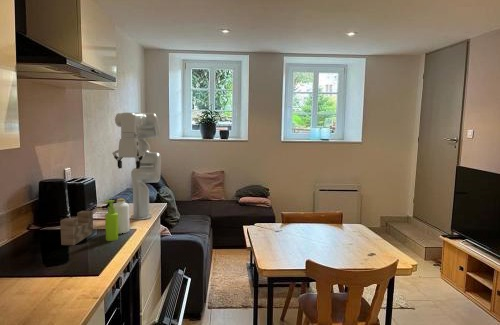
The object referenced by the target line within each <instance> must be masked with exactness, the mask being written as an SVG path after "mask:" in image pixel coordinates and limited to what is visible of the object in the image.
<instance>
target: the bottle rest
mask: <svg viewBox="0 0 500 325" xmlns="http://www.w3.org/2000/svg"><path fill="white" fill-rule="evenodd" d="M93 212H94V211H93V210H81V211H78V212H76V215H77V216H76V217H75V218H73V217H71V218H70V217H64V218H62V219H61V220H60V222H59V223H60V243H61V246H75V245H76V244H78V243H80V242H82V241H83V240H84V239H86V238H88V237H90V236H91V235H92V234H94V216H93V215H94V213H93Z"/></svg>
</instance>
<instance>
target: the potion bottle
mask: <svg viewBox="0 0 500 325" xmlns="http://www.w3.org/2000/svg"><path fill="white" fill-rule="evenodd" d="M113 206H114V207H115V213H118V235H121V234H122V233H123V234H126V233H129V231H130V205H129V203H127V202H126V199H125V198H117V199H116V202H115V203H113ZM123 234H122V235H123Z"/></svg>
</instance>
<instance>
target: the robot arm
mask: <svg viewBox="0 0 500 325" xmlns="http://www.w3.org/2000/svg"><path fill="white" fill-rule="evenodd" d="M114 123H115V125H116V127H118V128H120V138H119V142H118V149H117V150H115V151H113V152H112V155H113V158H114V159H115V160H116V161H117V167H118V168H117V169H122V168H123V160H122V159H124V158H132V159H133V158H134V159H135V160H134V161H135V168H133V169H132V170H131V172H130V178H131V182H132V202H133V203H132V204H133V206H132V207H133V209H132V210H133V213H132V215H131V216H130V218H131V219H132V220H138V221H140V220H141V221H143V220H149V219H151V218H152V214H151V213H150V189H149V187H148V186H147V185H146V184H147V183H148V184H150V183H159V181H160V180H161V174H162V173H161V172H162V155H161V154H160V153H159V152H157V151H156V152H154V151H151V145H150V144H149V142H148V141H147V140H145V139H159V138H160V136H161V127H160V121H159V118H158V115H156V113H154V112H118V113H116V115H115V116H114Z"/></svg>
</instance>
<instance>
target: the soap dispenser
mask: <svg viewBox="0 0 500 325" xmlns="http://www.w3.org/2000/svg"><path fill="white" fill-rule="evenodd" d="M114 202H115V203H116V200H115V199H114V200H113V199H110V200H109V199H108V200H105V201H104V202H102V203H103V204H109V205H108V206H107V212H106V213H105V214H104V216H105V219H104V220H105V222H104V223H105V241H107V242H114V241H118V240H119V234H118V213H115V207H114V206H113V205H114Z"/></svg>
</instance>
